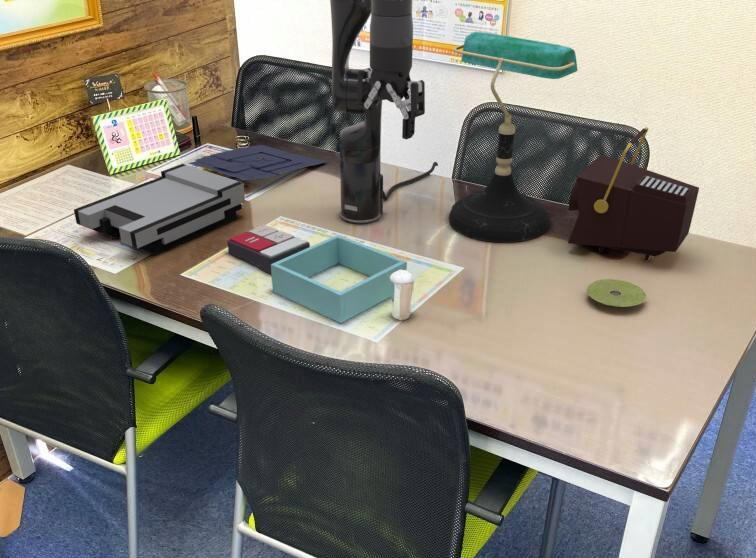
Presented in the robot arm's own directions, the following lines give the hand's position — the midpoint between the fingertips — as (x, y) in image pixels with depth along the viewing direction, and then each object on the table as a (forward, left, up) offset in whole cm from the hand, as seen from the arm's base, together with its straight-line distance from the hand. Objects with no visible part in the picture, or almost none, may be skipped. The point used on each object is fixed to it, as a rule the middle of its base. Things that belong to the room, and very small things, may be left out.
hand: (389, 133), depth 160 cm
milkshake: (+10, +12, -30) cm, 34 cm away
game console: (+15, -55, -30) cm, 65 cm away
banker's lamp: (-39, 0, -30) cm, 49 cm away
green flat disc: (-23, +39, -30) cm, 54 cm away
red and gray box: (+9, -26, -30) cm, 41 cm away
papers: (-24, -67, -30) cm, 77 cm away
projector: (-45, +29, -30) cm, 62 cm away
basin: (+10, -4, -30) cm, 32 cm away
